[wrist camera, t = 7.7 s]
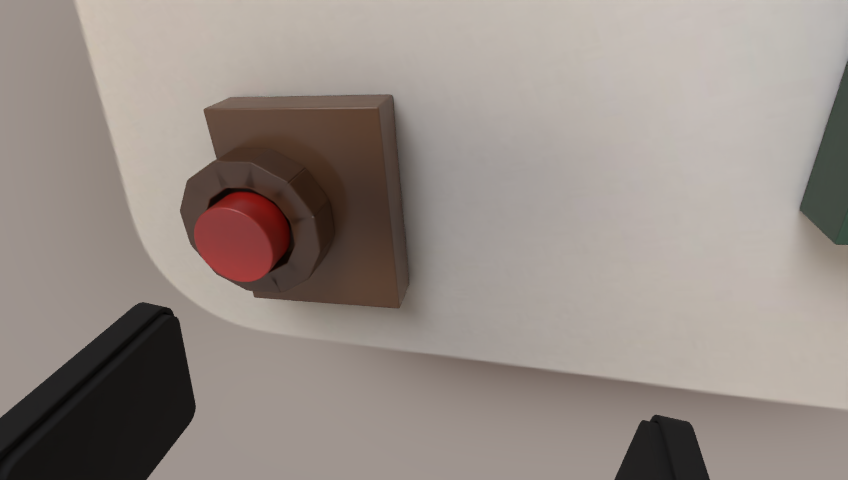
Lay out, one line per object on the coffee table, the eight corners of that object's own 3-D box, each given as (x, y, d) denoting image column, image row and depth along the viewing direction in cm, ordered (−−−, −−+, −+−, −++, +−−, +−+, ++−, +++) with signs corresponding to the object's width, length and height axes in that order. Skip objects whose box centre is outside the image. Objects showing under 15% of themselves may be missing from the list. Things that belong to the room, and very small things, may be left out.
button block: (409, 284, 27) (390, 332, 23) (252, 274, 29) (213, 316, 25) (392, 94, 22) (364, 118, 18) (205, 97, 24) (149, 120, 20)
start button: (297, 263, 23) (280, 285, 21) (227, 259, 24) (206, 280, 22) (282, 191, 21) (262, 209, 20) (207, 189, 22) (182, 206, 20)
